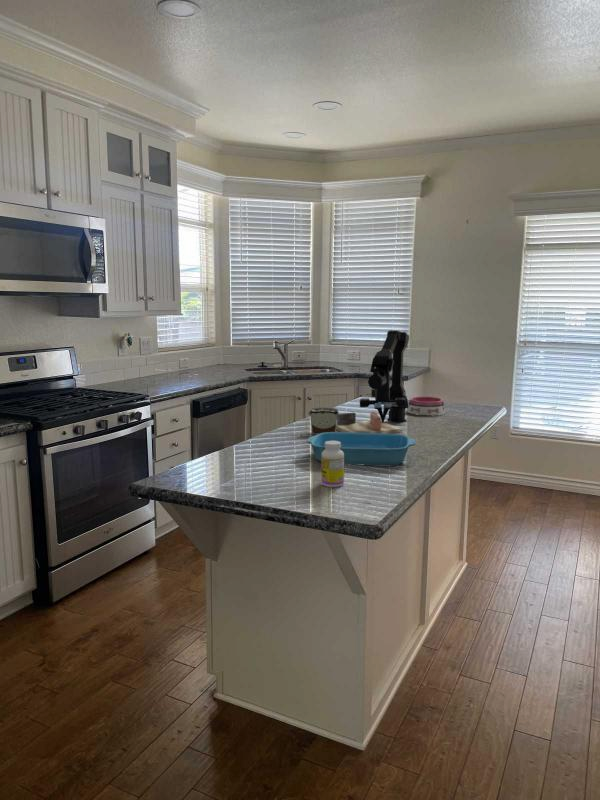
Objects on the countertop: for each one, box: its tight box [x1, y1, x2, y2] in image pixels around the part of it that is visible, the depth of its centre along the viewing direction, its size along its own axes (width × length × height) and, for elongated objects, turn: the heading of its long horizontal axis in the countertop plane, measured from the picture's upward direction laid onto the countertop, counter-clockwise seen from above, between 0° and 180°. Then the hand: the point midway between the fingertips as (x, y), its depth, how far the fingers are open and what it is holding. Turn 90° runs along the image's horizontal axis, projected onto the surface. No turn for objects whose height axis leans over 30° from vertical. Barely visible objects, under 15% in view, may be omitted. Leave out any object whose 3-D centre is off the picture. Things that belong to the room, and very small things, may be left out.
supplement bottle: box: [320, 441, 345, 488], centre depth 174 cm, size 7×7×13 cm
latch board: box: [336, 412, 403, 434], centre depth 247 cm, size 22×20×6 cm
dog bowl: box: [406, 396, 446, 416], centre depth 285 cm, size 18×19×7 cm
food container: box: [308, 407, 340, 435], centre depth 243 cm, size 12×6×10 cm, turn 84°
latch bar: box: [369, 411, 382, 430], centre depth 248 cm, size 17×3×4 cm, turn 179°
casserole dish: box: [306, 431, 416, 466], centre depth 203 cm, size 37×22×7 cm, turn 79°
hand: (382, 423), depth 244 cm, fingers closed
